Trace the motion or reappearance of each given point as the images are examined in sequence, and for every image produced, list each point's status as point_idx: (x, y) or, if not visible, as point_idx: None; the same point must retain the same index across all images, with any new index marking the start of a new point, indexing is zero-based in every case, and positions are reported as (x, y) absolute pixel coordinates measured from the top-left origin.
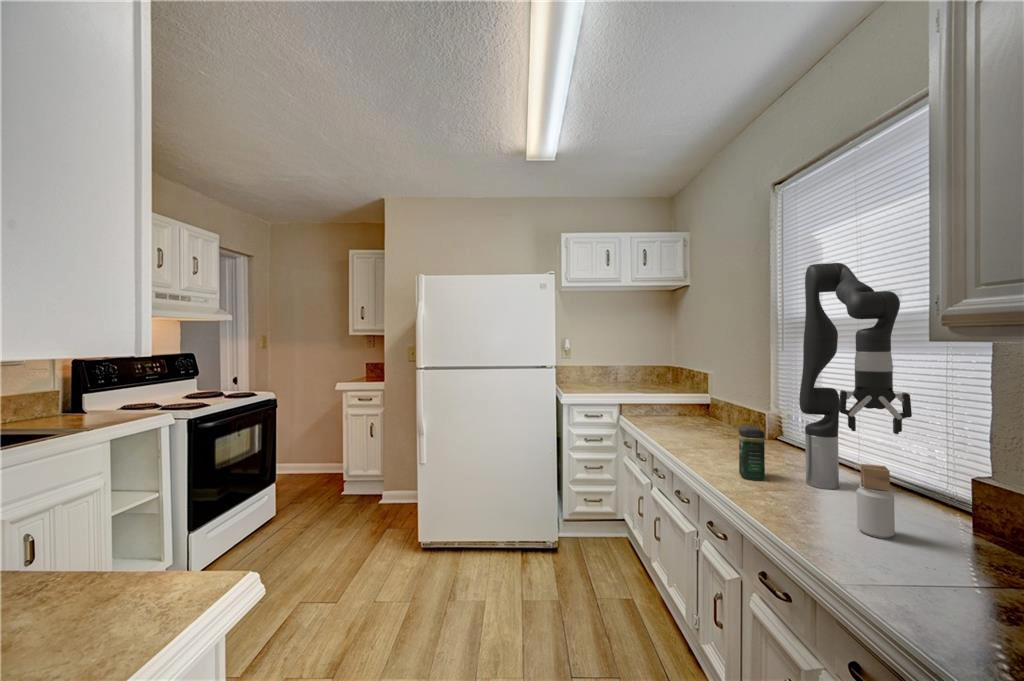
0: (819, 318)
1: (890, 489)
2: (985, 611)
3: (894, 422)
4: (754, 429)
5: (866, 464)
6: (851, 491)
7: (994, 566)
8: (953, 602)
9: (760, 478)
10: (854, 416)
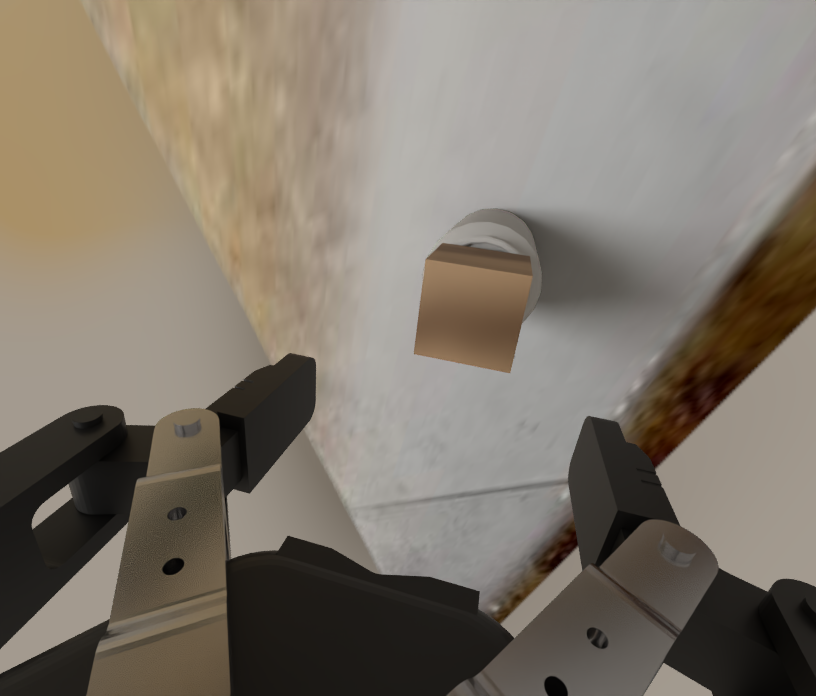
0: None
1: (530, 297)
2: (533, 547)
3: (586, 538)
4: None
5: (448, 270)
6: None
7: (692, 384)
8: (498, 531)
9: None
10: (245, 448)
